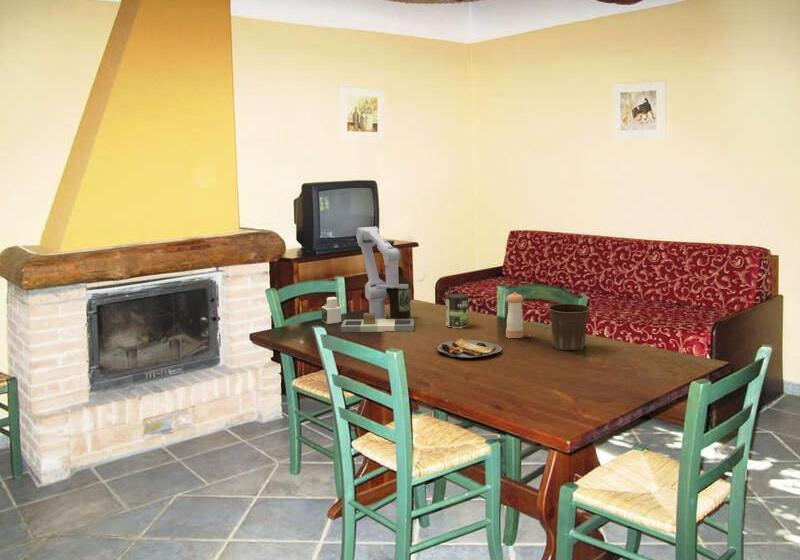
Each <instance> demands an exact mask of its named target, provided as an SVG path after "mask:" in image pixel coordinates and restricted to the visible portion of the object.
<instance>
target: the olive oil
mask: <svg viewBox="0 0 800 560" xmlns="http://www.w3.org/2000/svg"><path fill="white" fill-rule="evenodd" d="M403 270H404V268H403V266H402V265H398V281H399V284H408V289H398V292H397V295H396V298H395V302H394V305H391V301H390V298H389V297H388V299H389V317H390V318H389V319H409V318H410V319H411V310H412V307H411V299H412V298H411V297H412V285H411V281H410V280H409V279H408V278H407V277H406V276H405V274H404V271H403ZM395 288H396V287H395ZM392 300H393V289H392Z"/></svg>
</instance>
